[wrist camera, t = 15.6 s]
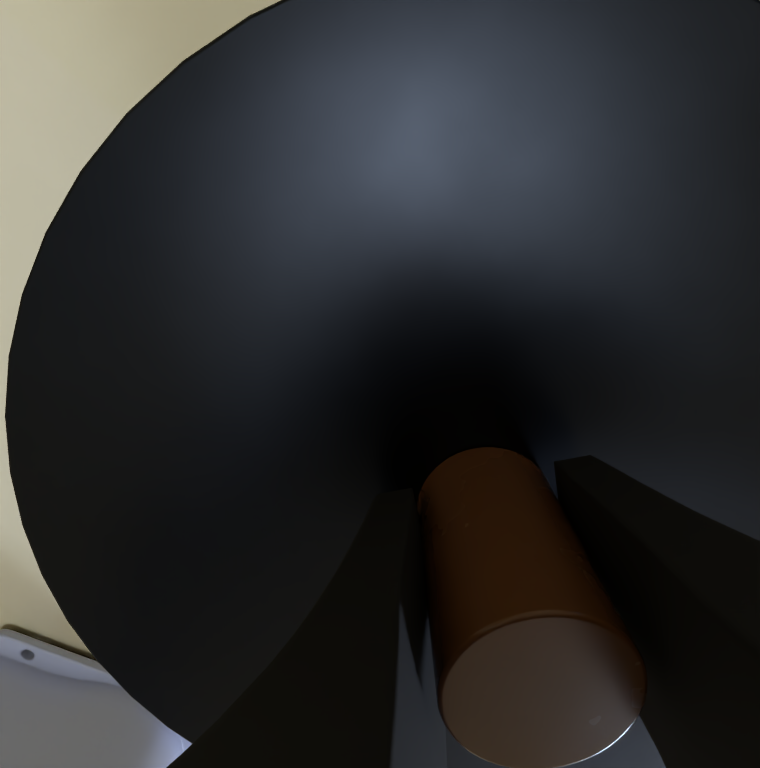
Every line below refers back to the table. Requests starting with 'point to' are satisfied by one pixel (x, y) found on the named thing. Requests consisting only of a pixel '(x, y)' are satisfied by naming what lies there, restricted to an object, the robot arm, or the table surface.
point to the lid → (398, 345)
